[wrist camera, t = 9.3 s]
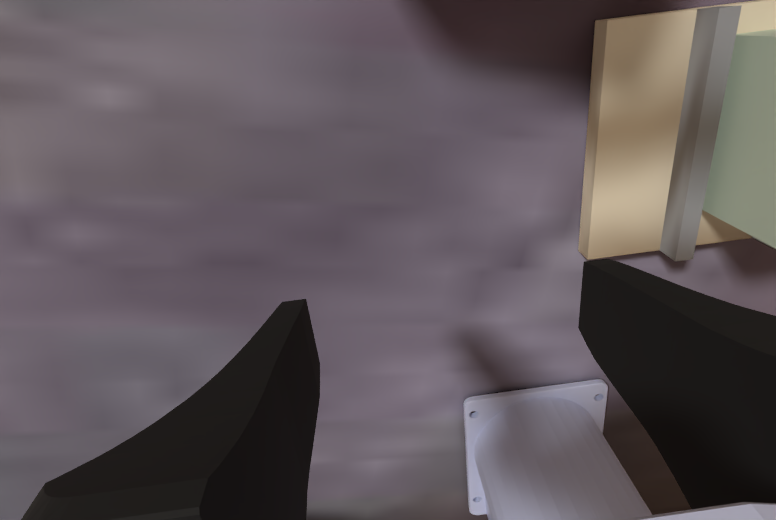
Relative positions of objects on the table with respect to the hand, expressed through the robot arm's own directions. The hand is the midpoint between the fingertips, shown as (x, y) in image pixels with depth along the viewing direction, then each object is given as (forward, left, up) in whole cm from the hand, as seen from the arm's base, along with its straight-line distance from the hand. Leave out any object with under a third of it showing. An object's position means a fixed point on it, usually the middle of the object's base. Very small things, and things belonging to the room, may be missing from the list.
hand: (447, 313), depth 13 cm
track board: (+1, -14, -10) cm, 17 cm away
